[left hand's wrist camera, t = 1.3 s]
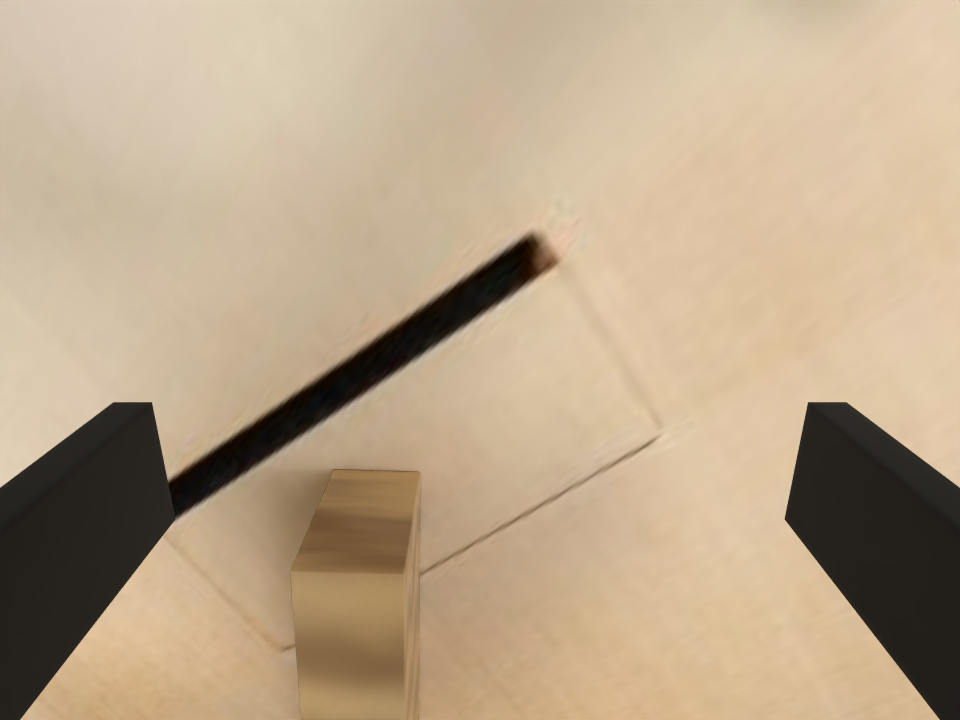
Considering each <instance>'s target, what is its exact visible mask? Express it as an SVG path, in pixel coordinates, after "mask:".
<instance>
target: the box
mask: <svg viewBox="0 0 960 720" xmlns="http://www.w3.org/2000/svg"><path fill="white" fill-rule="evenodd" d="M420 482H421V473H420V472H400V471H366V470H333V472H332V475H331V477H330V479H329V482H328V484H327V486H326V489H325V491H324V493H323V496H322V498H321V501H320V503H319V505H318V508H317V510H316V512H315V515H314V517H313V519H312V522H311V524H310V526H309V529H308V531H307V534H306V536H305V538H304V541H303V543H302V545H301V548H300V550H299V552H298V555H297V557H296V559H295V562H294V564H293V567H292V569H291V571H290V576H291V590H292V603H293V616H294V630H295V643H296V656H297V670H298V683H299V696H300V710H301V720H419V606H420Z"/></svg>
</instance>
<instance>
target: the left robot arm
mask: <svg viewBox="0 0 960 720" xmlns="http://www.w3.org/2000/svg"><path fill="white" fill-rule="evenodd" d="M174 520H175V515H174V510H173V505H172V500H171V495H170V490H169V485H168V480H167V475H166V470H165V465H164V460H163V455H162V450H161V445H160V440H159V435H158V430H157V425H156V420H155V415H154V411H153V406H152V402H113V403H112V404H111V405H109V406H108V407H107V408H105V409H104V410H103V411H101V412H100V413H99V414H97V415H96V416H95V417H94V418H92V419H91V420H90V421H88V422H87V423H86V424H84V425H83V426H82V427H80V428H79V429H78V430H76V431H75V432H74V433H72V434H71V435H70V436H68V437H67V438H66V439H64V440H63V441H62V442H60V443H59V444H58V445H56V446H55V447H54V448H52V449H51V450H50V451H48V452H47V453H46V454H44V455H43V456H42V457H40V458H39V459H38V460H37V461H35V462H34V463H33V464H31V465H30V466H29V467H27V468H26V469H25V470H23V471H22V472H21V473H19V474H18V475H17V476H15V477H14V478H13V479H11V480H10V481H9V482H7V483H6V484H5V485H3V486H2V487H1V488H0V720H20V719H21V718H22V717H23V715H24V714H25V713H26V711H27V710H28V709H29V707H30V706H31V705H32V704H33V702H34V701H35V700H36V698H37V697H38V696H39V695H40V693H41V692H42V691H43V689H44V688H45V687H46V686H47V684H48V683H49V682H50V680H51V679H52V678H53V677H54V675H55V674H56V673H57V671H58V670H59V669H60V667H61V666H62V665H63V664H64V662H65V661H66V660H67V658H68V657H69V656H70V655H71V653H72V652H73V651H74V649H75V648H76V647H77V646H78V644H79V643H80V642H81V640H82V639H83V638H84V636H85V635H86V634H87V633H88V631H89V630H90V629H91V627H92V626H93V625H94V624H95V622H96V621H97V620H98V618H99V617H100V616H101V615H102V613H103V612H104V611H105V609H106V608H107V607H108V606H109V604H110V603H111V602H112V600H113V599H114V598H115V596H116V595H117V594H118V593H119V591H120V590H121V589H122V587H123V586H124V585H125V584H126V582H127V581H128V580H129V578H130V577H131V576H132V575H133V573H134V572H135V571H136V569H137V568H138V567H139V566H140V564H141V563H142V562H143V560H144V559H145V558H146V556H147V555H148V554H149V553H150V551H151V550H152V549H153V547H154V546H155V545H156V544H157V542H158V541H159V540H160V538H161V537H162V536H163V535H164V533H165V532H166V531H167V529H168V528H169V527H170V525H171V524H172V523H173V522H174ZM785 520H786V522H787V523H788V524H789V525H790V527H791V528H792V529H793V531H794V532H795V533H796V535H797V536H798V537H799V538H800V540H801V541H802V542H803V544H804V545H805V546H806V547H807V549H808V550H809V551H810V553H811V554H812V555H813V556H814V558H815V559H816V560H817V562H818V563H819V564H820V566H821V567H822V568H823V569H824V571H825V572H826V573H827V575H828V576H829V577H830V578H831V580H832V581H833V582H834V584H835V585H836V586H837V587H838V589H839V590H840V591H841V593H842V594H843V595H844V596H845V598H846V599H847V600H848V602H849V603H850V604H851V606H852V607H853V608H854V609H855V611H856V612H857V613H858V615H859V616H860V617H861V618H862V620H863V621H864V622H865V624H866V625H867V626H868V627H869V629H870V630H871V631H872V633H873V634H874V635H875V636H876V638H877V639H878V640H879V642H880V643H881V644H882V646H883V647H884V648H885V649H886V651H887V652H888V653H889V655H890V656H891V657H892V658H893V660H894V661H895V662H896V664H897V665H898V666H899V667H900V669H901V670H902V671H903V673H904V674H905V675H906V677H907V678H908V679H909V680H910V682H911V683H912V684H913V686H914V687H915V688H916V689H917V691H918V692H919V693H920V695H921V696H922V697H923V698H924V700H925V701H926V702H927V704H928V705H929V706H930V707H931V709H932V710H933V711H934V713H935V714H936V715H937V717H938V718H939V719H940V720H960V488H959V487H958V486H957V485H955V484H954V483H953V482H951V481H950V480H949V479H947V478H946V477H945V476H943V475H942V474H941V473H939V472H938V471H937V470H935V469H934V468H933V467H931V466H930V465H929V464H927V463H926V462H925V461H923V460H922V459H921V458H920V457H918V456H917V455H916V454H914V453H913V452H912V451H910V450H909V449H908V448H906V447H905V446H904V445H902V444H901V443H900V442H898V441H897V440H896V439H894V438H893V437H892V436H890V435H889V434H888V433H886V432H885V431H884V430H882V429H881V428H880V427H878V426H877V425H876V424H874V423H873V422H872V421H870V420H869V419H868V418H866V417H865V416H864V415H863V414H861V413H860V412H859V411H857V410H856V409H855V408H853V407H852V406H851V405H849V404H848V403H847V402H808V406H807V411H806V415H805V420H804V425H803V430H802V435H801V440H800V445H799V450H798V455H797V460H796V465H795V470H794V475H793V480H792V485H791V490H790V495H789V500H788V505H787V510H786V515H785Z"/></svg>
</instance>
